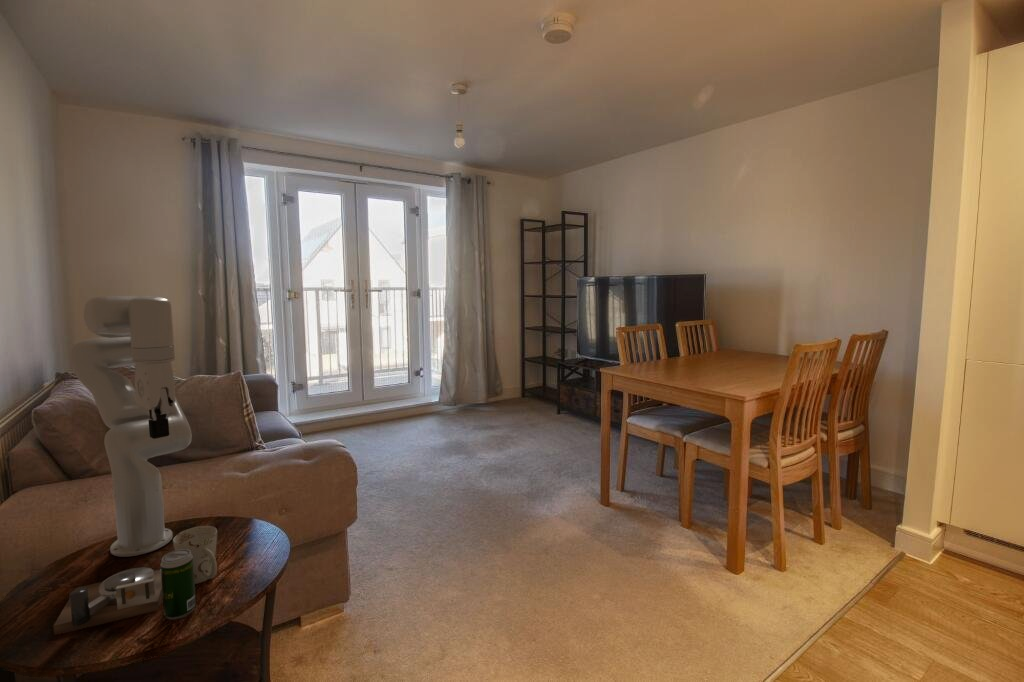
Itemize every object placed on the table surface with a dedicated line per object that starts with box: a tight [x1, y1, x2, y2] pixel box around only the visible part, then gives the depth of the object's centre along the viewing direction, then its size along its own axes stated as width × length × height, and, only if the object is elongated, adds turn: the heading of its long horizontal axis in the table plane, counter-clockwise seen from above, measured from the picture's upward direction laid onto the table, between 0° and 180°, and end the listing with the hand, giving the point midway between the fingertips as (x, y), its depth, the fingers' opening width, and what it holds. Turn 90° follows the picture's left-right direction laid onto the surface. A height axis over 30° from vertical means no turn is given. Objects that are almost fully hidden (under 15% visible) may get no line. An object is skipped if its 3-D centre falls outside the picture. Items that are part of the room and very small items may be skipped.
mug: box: [172, 525, 218, 585], centre depth 109 cm, size 8×13×10 cm, turn 60°
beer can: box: [160, 549, 197, 621], centre depth 98 cm, size 5×5×12 cm
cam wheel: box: [68, 566, 155, 626], centre depth 98 cm, size 15×9×6 cm, turn 171°
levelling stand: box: [53, 569, 163, 636], centre depth 100 cm, size 14×16×6 cm
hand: (159, 436), depth 108 cm, fingers closed
